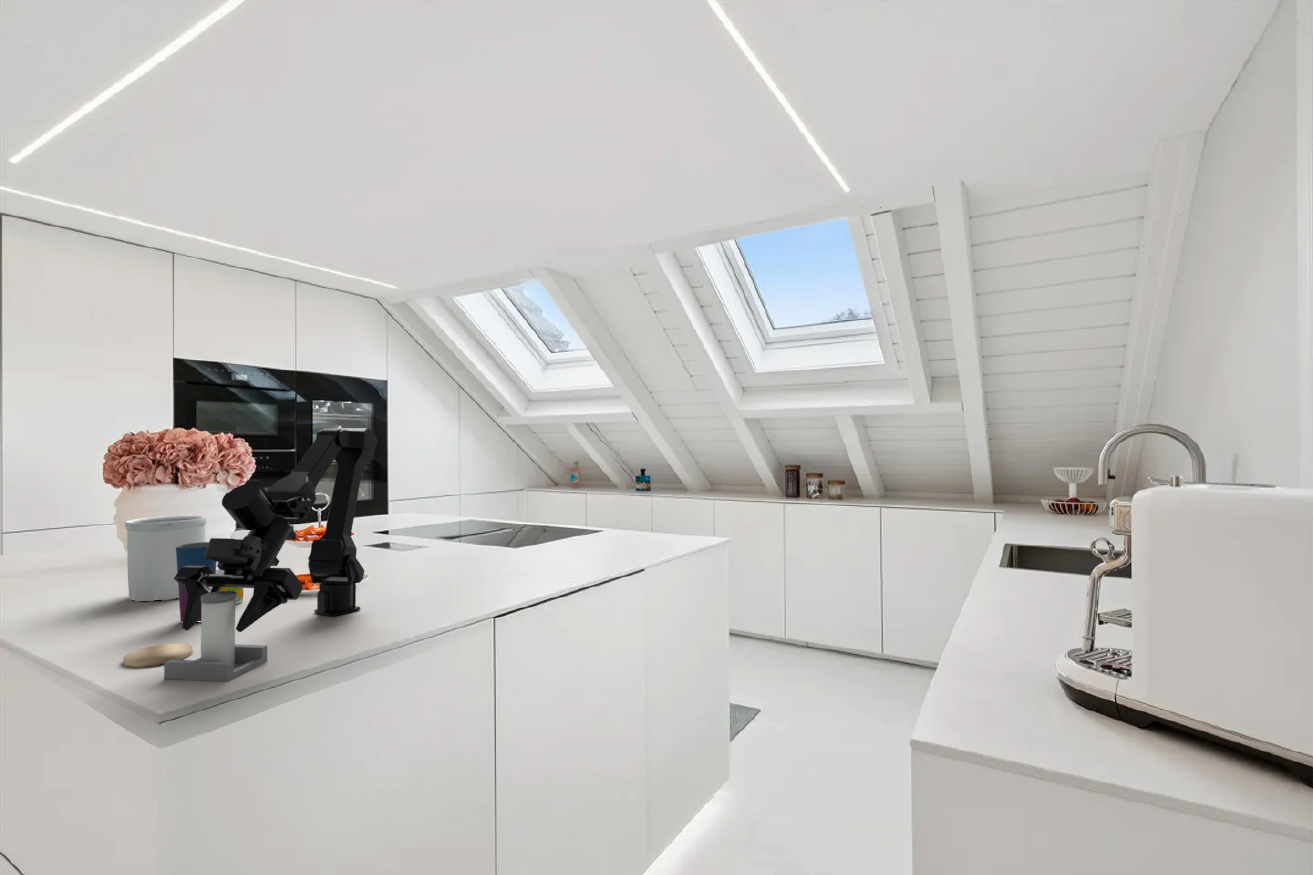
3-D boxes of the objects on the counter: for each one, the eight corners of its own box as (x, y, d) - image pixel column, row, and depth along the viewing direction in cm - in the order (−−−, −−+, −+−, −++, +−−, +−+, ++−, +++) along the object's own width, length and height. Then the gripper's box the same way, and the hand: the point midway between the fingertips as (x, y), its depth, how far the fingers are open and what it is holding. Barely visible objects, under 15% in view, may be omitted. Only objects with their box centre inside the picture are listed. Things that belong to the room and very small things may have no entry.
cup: (225, 617, 127) (226, 543, 127) (190, 626, 121) (191, 548, 121) (201, 613, 129) (202, 540, 129) (166, 622, 123) (167, 546, 123)
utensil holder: (106, 600, 138) (107, 521, 138) (169, 585, 153) (169, 513, 153) (163, 604, 136) (164, 523, 136) (222, 588, 151) (222, 515, 151)
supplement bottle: (228, 607, 134) (228, 561, 134) (207, 605, 135) (207, 560, 135) (249, 600, 140) (249, 557, 140) (228, 599, 141) (229, 556, 141)
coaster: (176, 644, 110) (176, 640, 110) (203, 653, 106) (203, 649, 106) (112, 660, 102) (112, 655, 102) (139, 671, 98) (139, 666, 98)
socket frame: (209, 658, 104) (209, 643, 104) (267, 660, 103) (267, 645, 103) (164, 678, 95) (164, 662, 95) (227, 681, 94) (227, 664, 94)
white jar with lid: (225, 662, 102) (226, 589, 102) (241, 667, 100) (242, 593, 100) (193, 671, 98) (194, 595, 98) (209, 676, 96) (210, 599, 96)
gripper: (183, 516, 104) (121, 600, 93) (292, 518, 102) (242, 604, 91) (219, 555, 111) (166, 637, 100) (320, 558, 110) (278, 641, 99)
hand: (211, 629), depth 98 cm, fingers open, 8 cm apart
